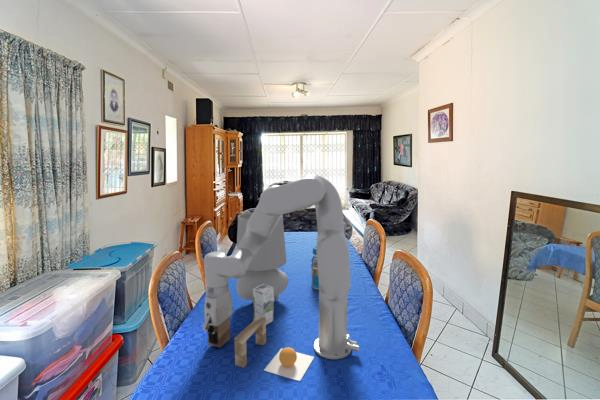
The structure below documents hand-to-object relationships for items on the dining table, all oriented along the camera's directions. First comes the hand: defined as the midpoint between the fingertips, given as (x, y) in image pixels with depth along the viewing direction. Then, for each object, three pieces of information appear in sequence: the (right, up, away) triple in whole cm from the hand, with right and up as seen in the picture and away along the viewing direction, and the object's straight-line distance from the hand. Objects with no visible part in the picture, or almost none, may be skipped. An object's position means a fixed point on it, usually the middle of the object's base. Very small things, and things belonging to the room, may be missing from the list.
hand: (219, 337), depth 112 cm
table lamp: (+12, +2, +31) cm, 33 cm away
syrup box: (+14, -1, +15) cm, 20 cm away
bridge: (+12, -3, -5) cm, 13 cm away
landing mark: (+25, -4, -10) cm, 27 cm away
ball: (+24, -2, -11) cm, 27 cm away
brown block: (0, -2, 0) cm, 2 cm away
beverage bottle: (+38, +5, +48) cm, 61 cm away
